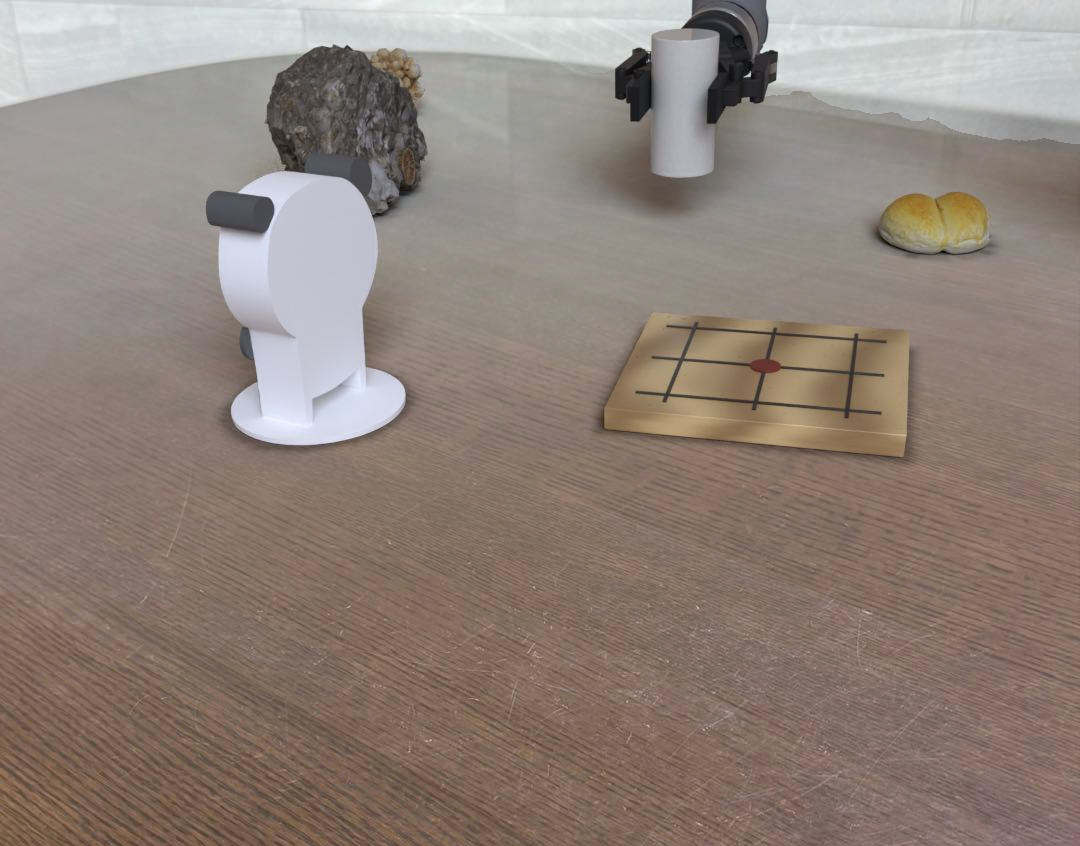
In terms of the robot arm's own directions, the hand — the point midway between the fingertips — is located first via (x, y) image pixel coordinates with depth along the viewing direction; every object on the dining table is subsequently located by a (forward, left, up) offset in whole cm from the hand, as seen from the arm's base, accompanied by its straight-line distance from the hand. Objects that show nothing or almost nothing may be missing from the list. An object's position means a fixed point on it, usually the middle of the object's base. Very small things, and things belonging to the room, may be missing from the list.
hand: (673, 105), depth 97 cm
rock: (+33, -8, -12) cm, 36 cm away
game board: (-11, +27, -12) cm, 31 cm away
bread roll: (-22, -5, -12) cm, 25 cm away
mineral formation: (+45, -39, -12) cm, 61 cm away
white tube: (0, -5, -7) cm, 8 cm away
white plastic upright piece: (+17, +35, -12) cm, 41 cm away
